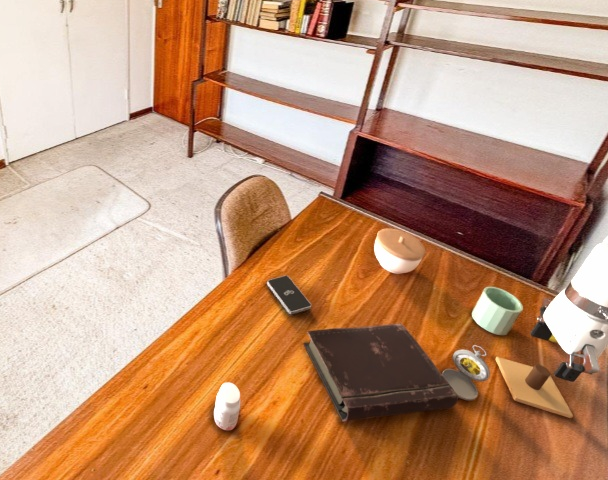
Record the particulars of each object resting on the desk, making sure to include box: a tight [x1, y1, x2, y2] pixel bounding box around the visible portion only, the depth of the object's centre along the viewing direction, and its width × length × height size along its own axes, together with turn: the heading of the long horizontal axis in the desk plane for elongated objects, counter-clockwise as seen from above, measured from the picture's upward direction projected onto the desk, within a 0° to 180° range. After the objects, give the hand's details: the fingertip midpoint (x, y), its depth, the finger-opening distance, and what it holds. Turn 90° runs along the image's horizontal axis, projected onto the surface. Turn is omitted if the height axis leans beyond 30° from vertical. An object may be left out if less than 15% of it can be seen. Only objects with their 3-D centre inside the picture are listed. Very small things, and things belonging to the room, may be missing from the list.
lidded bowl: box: [373, 227, 426, 275], centre depth 119 cm, size 13×13×11 cm
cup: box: [471, 286, 524, 336], centre depth 102 cm, size 8×8×8 cm
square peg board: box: [495, 356, 574, 419], centre depth 88 cm, size 10×10×6 cm
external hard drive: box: [266, 275, 312, 317], centre depth 108 cm, size 7×11×2 cm, turn 19°
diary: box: [302, 323, 459, 422], centre depth 89 cm, size 19×25×5 cm
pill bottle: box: [213, 382, 242, 431], centre depth 79 cm, size 5×5×8 cm
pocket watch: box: [441, 344, 491, 401], centre depth 87 cm, size 8×8×10 cm
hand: (550, 356), depth 85 cm, fingers open, 9 cm apart
